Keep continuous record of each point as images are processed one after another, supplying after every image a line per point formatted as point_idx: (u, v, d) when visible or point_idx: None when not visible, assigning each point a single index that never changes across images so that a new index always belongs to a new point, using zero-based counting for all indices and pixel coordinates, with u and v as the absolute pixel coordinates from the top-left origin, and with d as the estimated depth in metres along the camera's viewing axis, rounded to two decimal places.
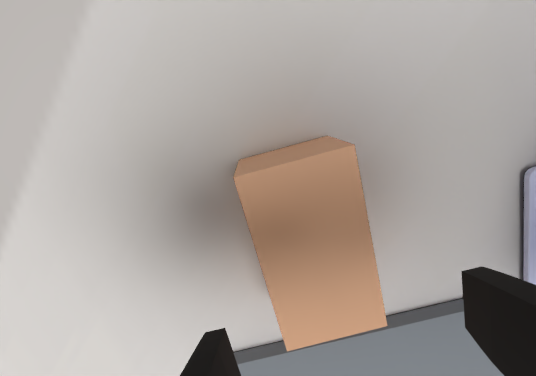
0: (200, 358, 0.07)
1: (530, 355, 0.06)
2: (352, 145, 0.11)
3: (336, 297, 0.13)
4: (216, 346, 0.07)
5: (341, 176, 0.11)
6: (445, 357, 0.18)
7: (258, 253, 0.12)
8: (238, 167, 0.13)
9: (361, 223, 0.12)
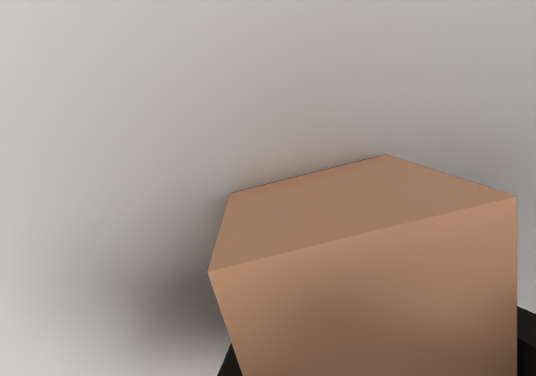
0: None
1: None
2: (510, 198, 0.04)
3: None
4: None
5: (471, 271, 0.05)
6: None
7: None
8: (225, 223, 0.06)
9: (500, 367, 0.05)
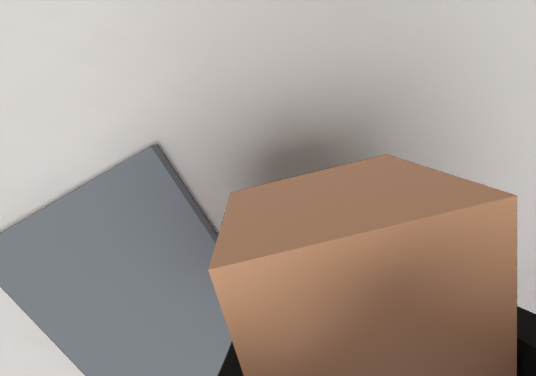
0: None
1: None
2: (511, 197, 0.04)
3: None
4: None
5: (471, 270, 0.05)
6: None
7: None
8: (226, 222, 0.06)
9: (500, 367, 0.05)
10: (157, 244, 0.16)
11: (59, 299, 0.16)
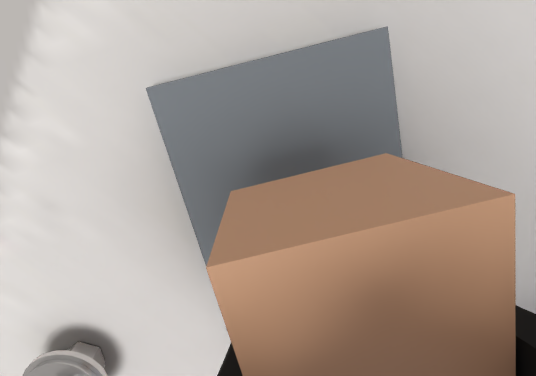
0: None
1: None
2: (509, 196, 0.04)
3: None
4: None
5: (470, 269, 0.05)
6: None
7: None
8: (225, 220, 0.06)
9: (499, 366, 0.05)
10: (345, 138, 0.15)
11: (218, 171, 0.15)
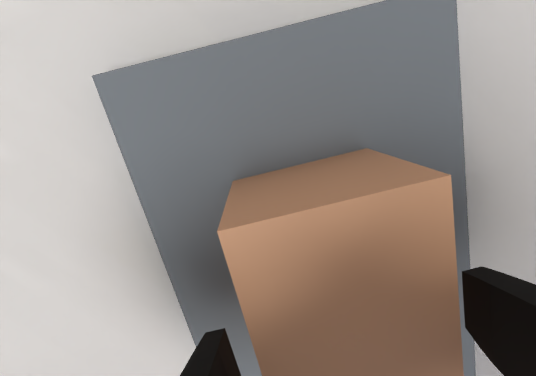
0: (200, 358, 0.07)
1: (530, 354, 0.06)
2: (446, 176, 0.06)
3: None
4: (216, 346, 0.07)
5: (419, 233, 0.06)
6: None
7: (261, 361, 0.07)
8: (229, 201, 0.08)
9: (446, 313, 0.07)
10: (385, 149, 0.10)
11: (203, 197, 0.10)
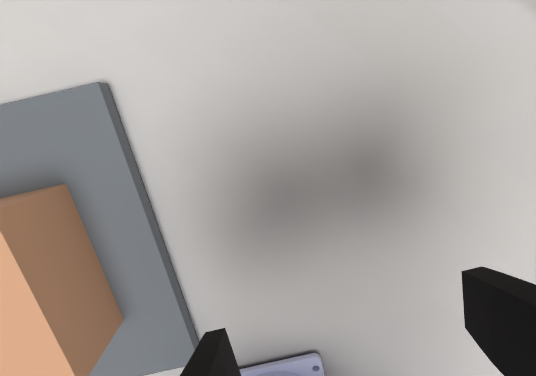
0: (200, 358, 0.07)
1: (529, 355, 0.06)
2: None
3: (16, 359, 0.13)
4: (216, 346, 0.07)
5: None
6: (131, 326, 0.18)
7: None
8: None
9: (21, 288, 0.12)
10: (79, 184, 0.15)
11: None
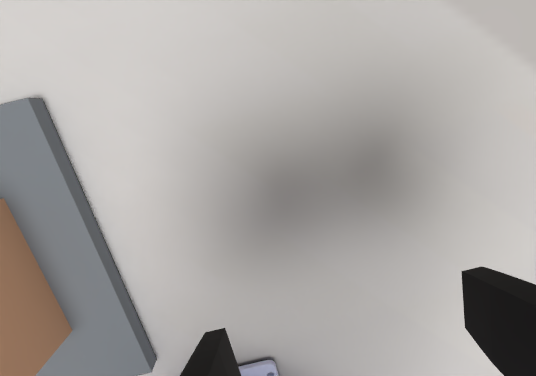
0: (200, 358, 0.07)
1: (529, 355, 0.06)
2: None
3: None
4: (216, 346, 0.07)
5: None
6: (80, 337, 0.18)
7: None
8: None
9: None
10: (17, 199, 0.15)
11: None
